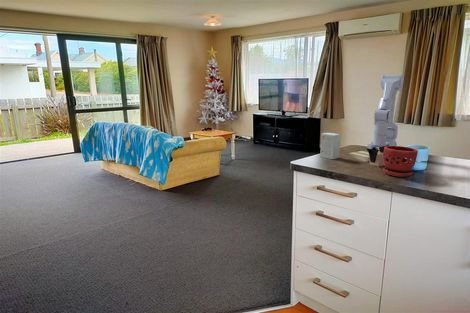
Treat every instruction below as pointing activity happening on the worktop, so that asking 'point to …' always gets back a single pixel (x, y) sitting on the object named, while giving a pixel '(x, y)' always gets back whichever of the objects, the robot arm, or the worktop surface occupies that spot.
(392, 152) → the plant pot
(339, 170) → the worktop surface
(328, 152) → the small box
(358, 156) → the beige shallow dish
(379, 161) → the clay block
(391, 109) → the robot arm
